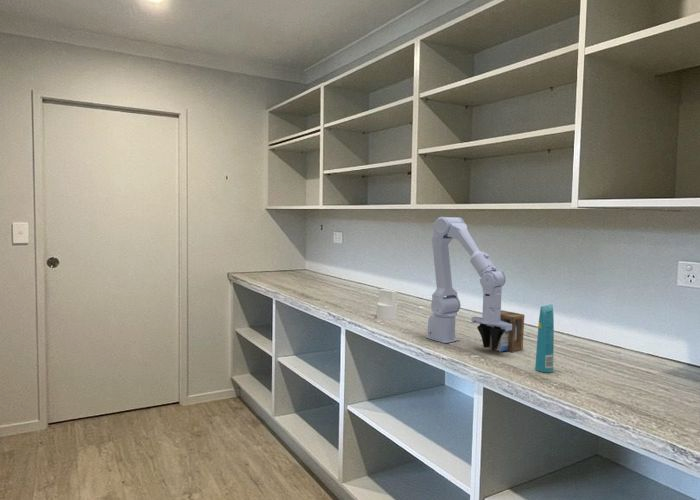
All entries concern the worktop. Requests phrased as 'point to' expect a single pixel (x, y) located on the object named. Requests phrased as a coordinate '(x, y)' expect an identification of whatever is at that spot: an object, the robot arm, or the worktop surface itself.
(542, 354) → the tube
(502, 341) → the medicine box
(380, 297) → the base with upright slab
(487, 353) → the worktop surface
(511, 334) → the walnut bay
